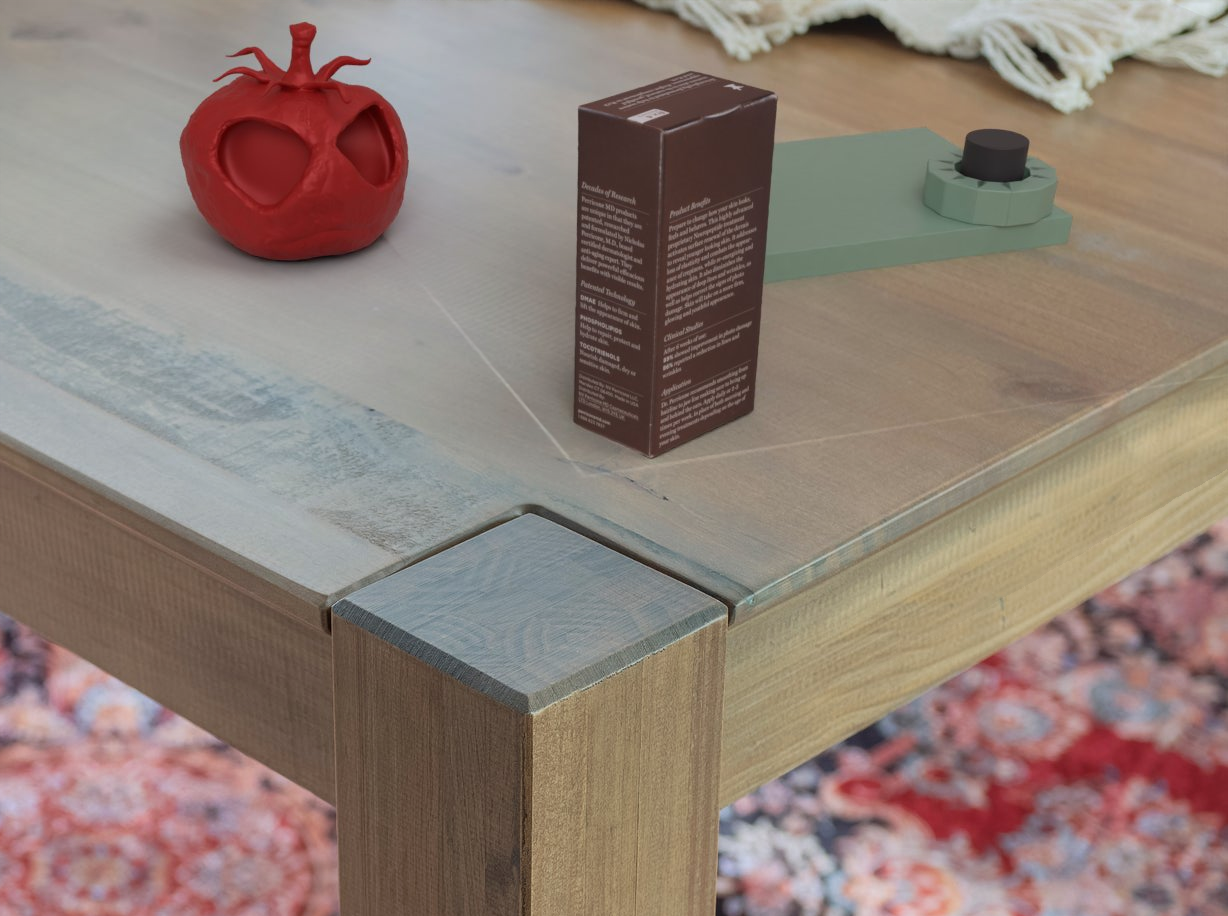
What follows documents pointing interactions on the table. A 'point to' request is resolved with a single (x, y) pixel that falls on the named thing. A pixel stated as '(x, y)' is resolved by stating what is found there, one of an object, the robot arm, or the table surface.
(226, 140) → the tomato with eye holes
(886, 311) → the table surface
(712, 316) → the box
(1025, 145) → the button
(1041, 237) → the scale
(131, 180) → the table surface
